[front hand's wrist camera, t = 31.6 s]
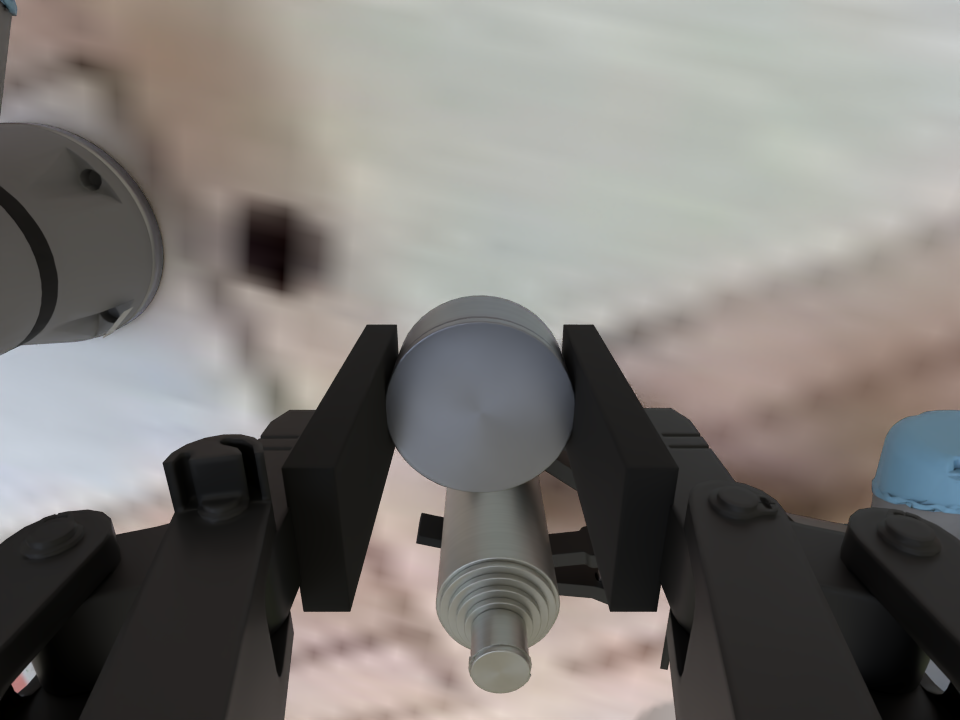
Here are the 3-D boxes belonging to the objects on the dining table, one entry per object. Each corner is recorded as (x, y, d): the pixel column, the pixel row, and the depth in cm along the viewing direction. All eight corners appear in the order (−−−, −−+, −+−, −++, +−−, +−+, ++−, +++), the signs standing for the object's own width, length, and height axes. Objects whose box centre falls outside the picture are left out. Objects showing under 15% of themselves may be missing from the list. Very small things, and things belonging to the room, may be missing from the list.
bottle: (438, 476, 49) (411, 702, 29) (466, 406, 46) (457, 603, 27) (515, 499, 50) (538, 734, 30) (547, 432, 47) (594, 641, 28)
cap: (596, 380, 14) (615, 418, 12) (474, 474, 16) (473, 523, 14) (486, 258, 13) (487, 279, 11) (362, 370, 14) (344, 406, 12)
